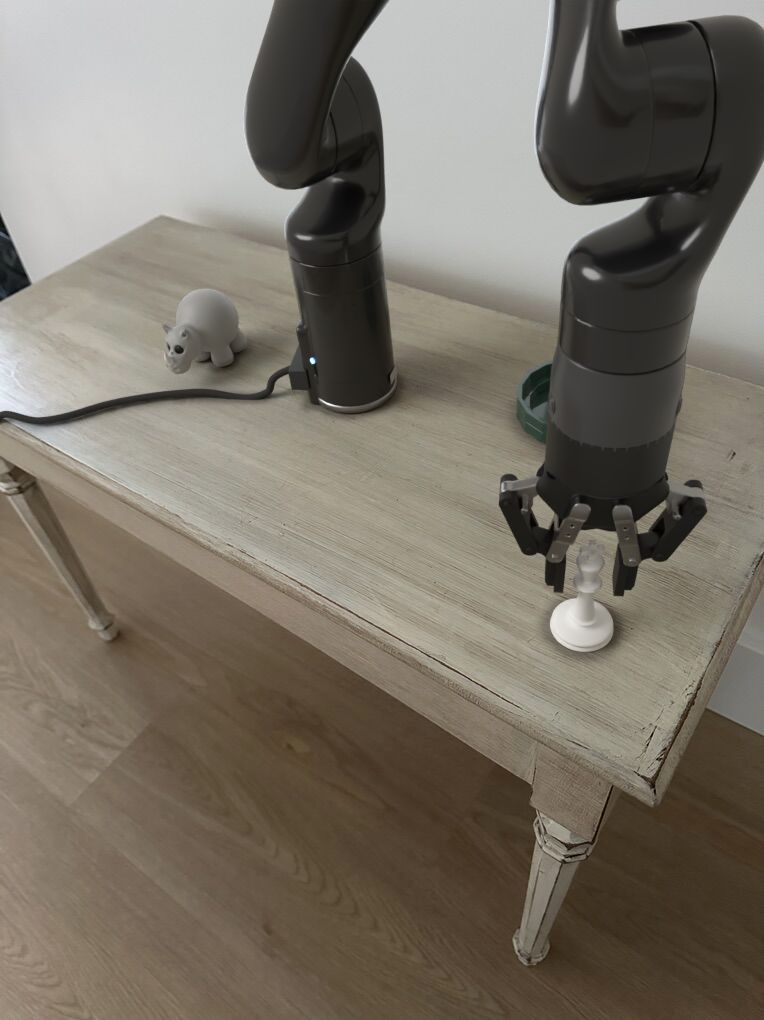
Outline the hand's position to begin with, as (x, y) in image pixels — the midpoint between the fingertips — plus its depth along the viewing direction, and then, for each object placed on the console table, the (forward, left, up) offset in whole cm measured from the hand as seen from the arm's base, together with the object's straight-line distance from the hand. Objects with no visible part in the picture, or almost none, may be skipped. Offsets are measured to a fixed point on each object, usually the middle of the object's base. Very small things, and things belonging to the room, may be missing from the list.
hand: (587, 585), depth 60 cm
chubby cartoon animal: (-43, +35, -5) cm, 56 cm away
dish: (0, +27, -5) cm, 27 cm away
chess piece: (0, 0, -5) cm, 5 cm away
